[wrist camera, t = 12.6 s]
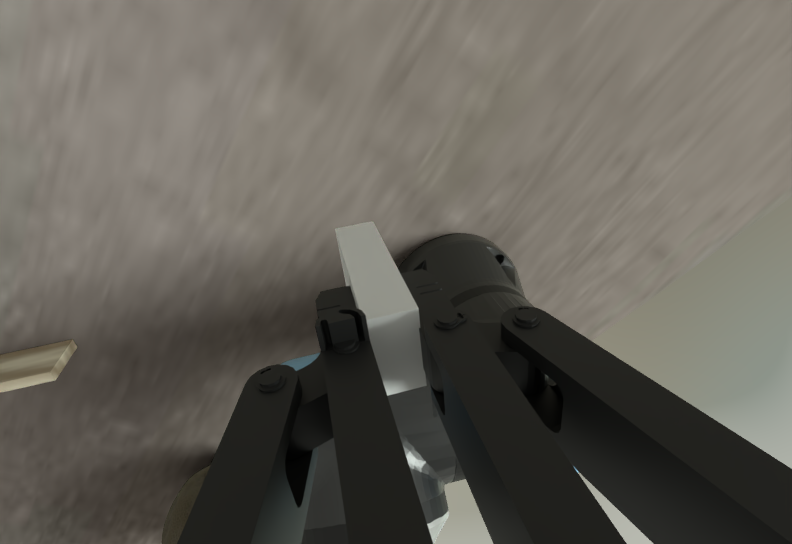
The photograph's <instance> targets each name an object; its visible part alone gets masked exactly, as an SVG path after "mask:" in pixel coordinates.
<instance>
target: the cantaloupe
mask: <svg viewBox="0 0 792 544" xmlns="http://www.w3.org/2000/svg"><path fill="white" fill-rule="evenodd" d="M209 468H210V466H208V467H206V468H204V469H202V470H200V471H199V472H197V473H195V474H194V475H193V476H192V477H191V478H190V479H189V480H188V481H187V482H186V483H185V485H184V486H183V487H182V489H181V490H180V492H179V493H178V495H177V497H176V499H175V501H174V502H173V504H172V506H171V508H170V511H169V513H168V516H167V519H166V522H165V525H164V530H163V535H162V544H177V542H178V540H179V538H180V535H181V533H182V531H183V528H184V526H185V524H186V521H187V519H188V517H189V514H190V512H191V510H192V507H193V505H194V503H195V500H196V498H197V496H198V493H199V491H200V489H201V486H202V484H203V482H204V479H205V477H206V475H207V472H208V470H209Z"/></svg>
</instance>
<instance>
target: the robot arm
mask: <svg viewBox="0 0 792 544" xmlns="http://www.w3.org/2000/svg"><path fill="white" fill-rule="evenodd" d="M335 231H336V236H337V241H338V247H339V252H340V257H341V262H342V267H343V273H344V278H345V283H346V286H345V287H341V288H336V289H331V290H326V291H322V292H320V294H319V296H318V298H317V299H316V307H317V313H318V320H317V321H316V325H315V328H316V332H317V336H318V340H319V344H320V348H321V352H320V353H317V354H313V355H308V356H304V357H300V358H296V359H291V360H288V361H286V362H284V363H282V364H280V365H279V364H277V365H273V366H268V367H266V368H263V369H261V370H259V371H257V372H256V373H255V374H254V375H252V376H251V377H250V378H249V380H248V381H247V383H246V384H245V386H244V388H243V391H242V393H241V395H240V398H239V400H238V402H237V405H236V407H235V409H234V412H233V414H232V416H231V419H230V421H229V423H228V426H227V428H226V430H225V433H224V435H223V437H222V440H221V442H220V444H219V447H218V449H217V451H216V454H215V456H214V458H213V461H212V463H211V465H210V468H209V470H208V472H207V475H206V477H205V479H204V482H203V484H202V486H201V489H200V491H199V493H198V496H197V498H196V500H195V503H194V505H193V507H192V510H191V512H190V514H189V517H188V519H187V521H186V524H185V526H184V528H183V531H182V533H181V535H180V538H179V540H178V542H177V544H435V542H436V538H437V536H438V535H439V533H440V531H441V529H442V527H443V525H444V524H445V522H446V520H447V518H448V516H449V510H448V506H447V500H446V496H445V491H444V485H445V484H448V483H451V482H455V481H459V480H463V479H466V480H467V482H468V485H469V487H470V489H471V492H472V494H473V496H474V499H475V501H476V503H477V506H478V508H479V511H480V513H481V515H482V518H483V520H484V522H485V524H486V527H487V529H488V532H489V534H490V536H491V539H492V541H493V543H494V544H626V542H625V541H624V540H623V538H622V536H621V535H620V534H619V532H618V531H617V529H616V528H615V527H614V525H613V524H612V522H611V520H610V519H609V518H608V516H607V515H606V513H605V512H604V510H603V509H602V507H601V506H600V505H599V503H598V502H597V500H596V499H595V497H594V496H593V494H592V493H591V492H590V490H589V489H588V487H587V486H586V484H585V483H584V482H583V480H582V479H581V477H580V476H579V474H578V473H579V472H580V473H581V474H582V475H583V476H584V477H585V478H586V479H587V480H588V481H589V482H590V483H591V484H592V485H593V486H594V487H595V488H596V489H597V490H598V491H599V492H601V493H602V494H603V495H604V496H605V497H606V498H607V499H608V500H609V501H610V502H611V503H612V504H613V505H614V506H615V507H616V508H617V509H618V510H619V511H620V512H621V513H622V514H623V515H625V516H626V517H627V518H628V519H629V520H630V521H631V522H632V523H633V524H634V525H635V526H636V527H637V528H638V529H639V530H640V531H641V532H642V533H643V534H644V535H645V536H646V537H648V539H649V540H651V541H652V542H653V543H654V544H792V469H791V468H789V467H788V466H786V465H785V464H783V463H782V462H780V461H778V460H777V459H775V458H774V457H772V456H771V455H769V454H767V453H766V452H764V451H763V450H761V449H760V448H758V447H756V446H755V445H753V444H752V443H750V442H749V441H747V440H745V439H744V438H742V437H741V436H739V435H737V434H736V433H735V432H733V431H731V430H730V429H728V428H727V427H725V426H723V425H722V424H720V423H718V422H717V421H716V420H714V419H713V418H711V417H709V416H708V415H706V414H705V413H703V412H702V411H700V410H698V409H697V408H695V407H694V406H692V405H691V404H689V403H687V402H686V401H684V400H683V399H681V398H679V397H678V396H676V395H675V394H673V393H672V392H670V391H669V390H667V389H666V388H664V387H662V386H661V385H659V384H658V383H656V382H654V381H653V380H651V379H650V378H648V377H647V376H645V375H644V374H642V373H640V372H639V371H637V370H636V369H634V368H633V367H631V366H629V365H628V364H626V363H625V362H623V361H622V360H620V359H618V358H617V357H615V356H614V355H612V354H611V353H609V352H608V351H606V350H604V349H603V348H601V347H600V346H598V345H596V344H595V343H593V342H592V341H590V340H589V339H587V338H586V337H584V336H582V335H581V334H579V333H578V332H576V331H575V330H573V329H571V328H570V327H568V326H567V325H565V324H564V323H562V322H561V321H559V320H557V319H556V318H554V317H553V316H551V315H550V314H548V313H546V312H545V311H543V310H540V309H538V308H535V307H534V306H533V305H532V304H531V303H529V302H528V301H527V299H526V298H525V295H524V292H523V289H522V286H521V282H520V279H519V276H518V273H517V270H516V268H515V266H514V265H513V263H512V261H511V260H510V259H509V257H508V256H507V255H506V254H505V253H504V252H503V251H502V250H501V249H500V248H498V247H497V246H496V245H495V244H494V243H492V242H491V241H489V240H487V239H485V238H482V237H480V236H476V235H471V234H452V235H447V236H443V237H439V238H436V239H434V240H432V241H430V242H428V243H426V244H424V245H422V246H421V247H419V248H418V249H416V250H415V251H414V252H413V253H412V254H410V255H409V256H408V257H407V258H406V259H405V261H404V262H403V263H402V264H401V266H400V267H399V268H397V266H396V264H395V262H394V261H393V259H392V257H391V255H390V253H389V251H388V249H387V247H386V245H385V243H384V241H383V240H382V238H381V236H380V234H379V232H378V230H377V228H376V226H375V224H374V222H373V221H372V222H366V223H361V224H356V225H351V226H346V227H341V228H336V229H335Z"/></svg>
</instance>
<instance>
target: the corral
mask: <svg viewBox="0 0 792 544" xmlns="http://www.w3.org/2000/svg"><path fill="white" fill-rule="evenodd" d="M76 349H77V346H76V344H75V342H74V341H73V339H72V340H67V341H63V342H58V343H53V344H48V345H44V346H39V347H34V348H30V349H25V350H20V351H15V352H11V353H6V354H1V355H0V393H1V392H6V391H10V390H15V389H19V388H24V387H28V386H32V385H37V384H41V383H46V382H50V381H55V380H56V379H57V378H58V376H59V375H60V373H61V372H62V370H63V368H64V367H65V365H66V364H67V362H68V361H69V359H70V358H71V356H72V355H73V353H74V352H75V350H76Z"/></svg>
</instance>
